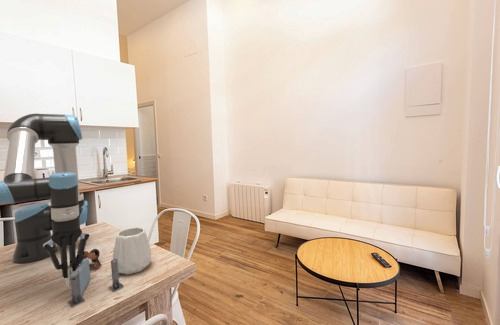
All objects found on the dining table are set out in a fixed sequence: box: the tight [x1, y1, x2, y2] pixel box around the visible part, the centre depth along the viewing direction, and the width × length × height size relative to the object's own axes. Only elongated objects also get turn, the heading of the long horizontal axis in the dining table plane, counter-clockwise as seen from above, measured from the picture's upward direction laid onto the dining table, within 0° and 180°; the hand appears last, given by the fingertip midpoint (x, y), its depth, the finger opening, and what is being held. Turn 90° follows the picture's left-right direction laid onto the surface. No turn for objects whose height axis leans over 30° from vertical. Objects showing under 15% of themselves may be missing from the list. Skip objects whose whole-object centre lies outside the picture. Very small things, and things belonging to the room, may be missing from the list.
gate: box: [70, 258, 91, 297], centre depth 83 cm, size 14×2×9 cm, turn 20°
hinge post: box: [67, 277, 85, 308], centre depth 77 cm, size 4×4×8 cm
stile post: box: [108, 258, 125, 293], centre depth 84 cm, size 4×4×10 cm
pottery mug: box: [68, 248, 102, 271], centre depth 99 cm, size 12×10×8 cm
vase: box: [112, 227, 152, 276], centre depth 97 cm, size 14×14×15 cm
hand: (69, 285), depth 83 cm, fingers closed
